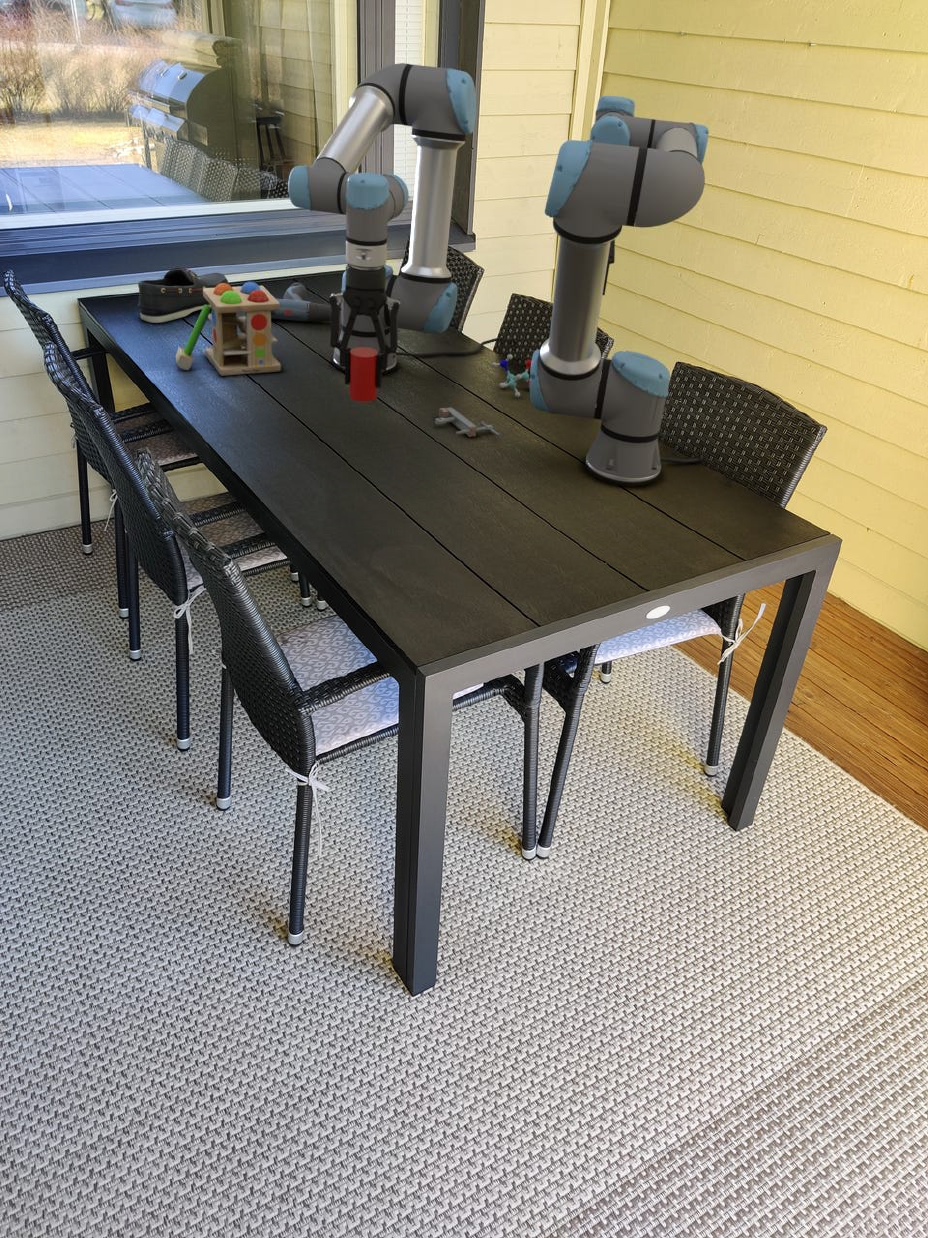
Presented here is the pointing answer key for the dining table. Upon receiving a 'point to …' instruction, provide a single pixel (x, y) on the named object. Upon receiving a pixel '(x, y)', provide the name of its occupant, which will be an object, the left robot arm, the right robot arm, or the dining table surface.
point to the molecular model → (511, 377)
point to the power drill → (300, 306)
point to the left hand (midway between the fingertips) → (363, 383)
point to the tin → (363, 374)
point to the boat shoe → (175, 294)
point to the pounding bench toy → (229, 347)
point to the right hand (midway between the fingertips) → (588, 285)
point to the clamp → (457, 418)
